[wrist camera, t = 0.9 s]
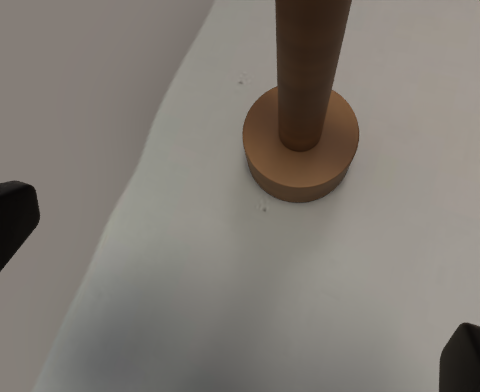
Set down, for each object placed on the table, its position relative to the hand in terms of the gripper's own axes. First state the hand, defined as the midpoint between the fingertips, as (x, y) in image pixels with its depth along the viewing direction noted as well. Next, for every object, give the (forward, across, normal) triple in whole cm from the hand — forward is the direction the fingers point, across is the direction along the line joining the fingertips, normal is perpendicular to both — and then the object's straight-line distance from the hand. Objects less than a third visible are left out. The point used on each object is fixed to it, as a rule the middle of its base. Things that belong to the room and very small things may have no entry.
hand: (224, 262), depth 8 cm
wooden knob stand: (+16, 0, +4) cm, 16 cm away
